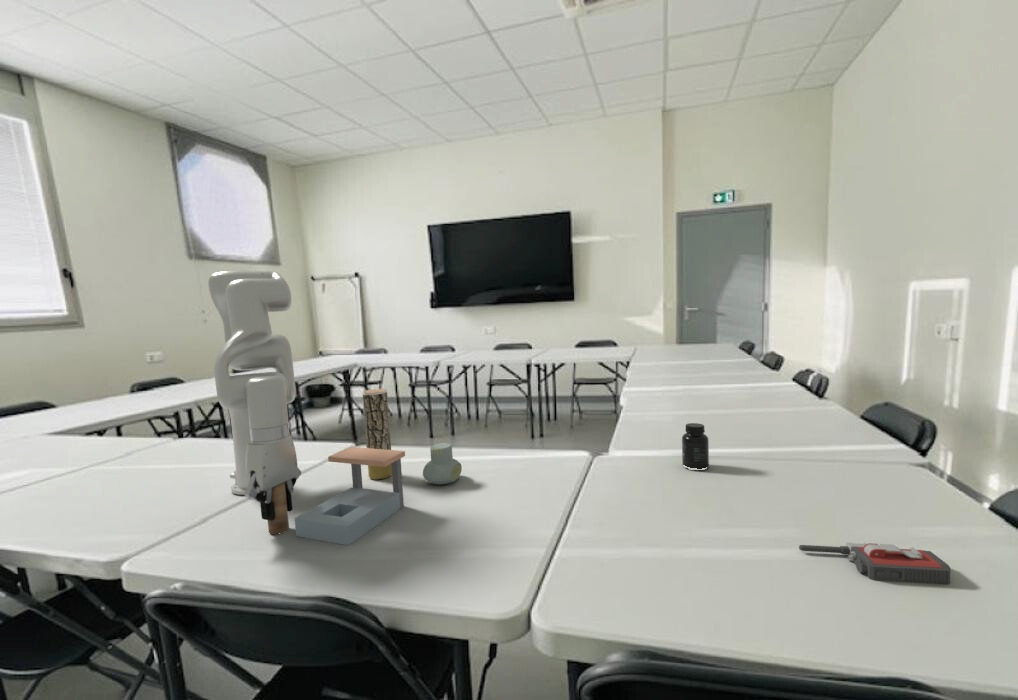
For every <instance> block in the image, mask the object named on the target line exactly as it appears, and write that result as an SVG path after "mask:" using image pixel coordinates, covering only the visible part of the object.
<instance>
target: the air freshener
mask: <svg viewBox="0 0 1018 700" xmlns="http://www.w3.org/2000/svg"><path fill="white" fill-rule="evenodd" d="M429 449H430V461H428V462H427V463H426V464H425V465H424V466H423V471H422V476H423V478H424V480H425V481H427V482H428V483H431V484H434V485H442V486H443V485H448V484H450V485H451V484H452V483H454V482H455V481H457V480H458V479H459V477H460V476H461V473H462V464H461V462H460V461H459V460H457V459H455V458H454V457H453V445H452V444H451V443H448V442H447V443H446V442H441V443H439V442H438V443H435V444H432V445H431V446H430V448H429Z"/></svg>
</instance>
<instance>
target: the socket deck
mask: <svg viewBox="0 0 1018 700" xmlns="http://www.w3.org/2000/svg"><path fill="white" fill-rule="evenodd" d="M405 456H406V451H405V450H397V449H396V450H394V449H391V450H384V449H371V448H366V447H357V446H350V447H348V448H345V449H343V450H340V451H338V452H337V453H333V454H331V455H329V456H328V457H327V459H328V460H327V461H328V462H329V463H338V464H339V463H341V464H351V477H352V487H349V488H347V489H346V490H343V492H340V493H338V494H337V495H335V496H333V497H331V498H329V499H327V500H325V501H324V502H321V503H320V504H318V505H316V506H314V507H313V508H311V509H309V510H307V511H305V512H303V513H302V514H300V515H297V516H296V517H294V525H295V526H294V527H295V537H298V536H300V537H299V538H303V537H305V538H304V539H309V538H310V539H311V540H315V539H317V540H316V541H321V540H323V541H322V542H327V543H332V542H333V544H338V545H339V544H340V545H345V546H350V545H351V544H353V543H354V542H355V541H357V540H359V539H360V538H361V537H363V536H364V535H365V534H367V533H369V532H370V531H371V530H373V529H374V528H375V527H377V526H379V525H380V524H381V523H382V522H384V521H385V520H387V519H388V518H390V517H391V516H392V515H394V514H395V513H396V512H398V511H399V510H400V509H401V508H403V507H404V506H405V503H404V501H405V500H404V490H403V472H402V458H404V457H405ZM389 464H391V466H392V475H391V477H392V490H393V491H389V490H381V489H380V490H379V489H370V488H363V476H362V475H363V474H362V466H368V465H370V466H381V467H385V466H387V465H389ZM310 539H309V540H310Z"/></svg>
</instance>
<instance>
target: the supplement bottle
mask: <svg viewBox="0 0 1018 700" xmlns="http://www.w3.org/2000/svg"><path fill="white" fill-rule="evenodd" d="M709 442H710V441H709V437H708V436H707V435H706V434H705V425H704V424H702V423H698V422H697V423H696V422H691V423H689V422H688V423H686V424H685V433H684V434H683V435H682V437H681V452H682V453H681V456H682V458H681V459H682V466H683V465H685V466H687V467H690V468H697V469H702V468H706V467H708V466H709V467H710V455H709V454H710V452H709V449H710V448H709V446H710V445H709Z"/></svg>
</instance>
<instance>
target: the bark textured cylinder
mask: <svg viewBox="0 0 1018 700" xmlns="http://www.w3.org/2000/svg"><path fill="white" fill-rule="evenodd" d="M387 390H388V389H386V388H375V389H366V390H363V391H362V402H363V403H362V405H363V417H364V431H365V448H371V449H384V450H392V442H391V441H392V439H391V429H390V412H389V398H388V391H387ZM367 470H368V471H367V472H368V478H370V479H371V480H384V479H387V478H389V477H392V466H391V464H389V465H387V466H385V467H381V466H370V465H367Z"/></svg>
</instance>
